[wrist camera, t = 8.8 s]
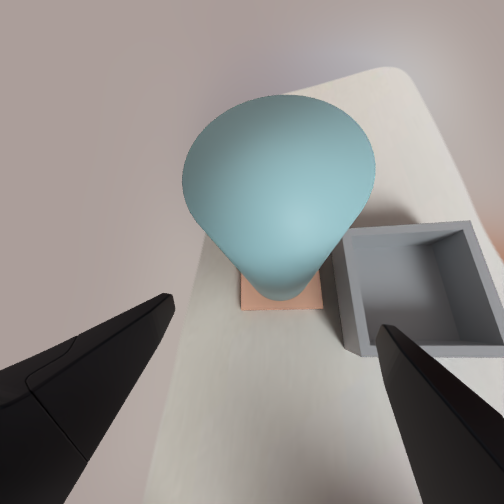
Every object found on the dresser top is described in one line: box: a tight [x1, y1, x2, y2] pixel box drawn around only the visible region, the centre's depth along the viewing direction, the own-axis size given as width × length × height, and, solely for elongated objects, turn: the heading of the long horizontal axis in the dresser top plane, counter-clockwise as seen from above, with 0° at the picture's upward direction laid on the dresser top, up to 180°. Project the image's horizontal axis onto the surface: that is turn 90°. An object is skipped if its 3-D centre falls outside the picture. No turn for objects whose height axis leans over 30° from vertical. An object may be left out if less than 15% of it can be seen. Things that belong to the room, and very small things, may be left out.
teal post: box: [182, 95, 375, 301], centre depth 11 cm, size 5×5×12 cm
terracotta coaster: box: [241, 270, 323, 310], centre depth 18 cm, size 6×6×1 cm
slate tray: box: [331, 221, 504, 358], centre depth 15 cm, size 8×8×3 cm
